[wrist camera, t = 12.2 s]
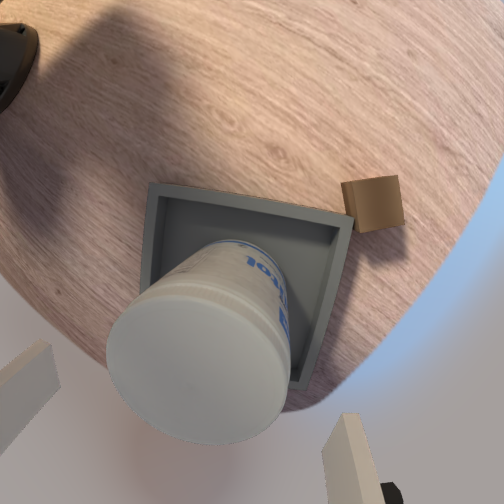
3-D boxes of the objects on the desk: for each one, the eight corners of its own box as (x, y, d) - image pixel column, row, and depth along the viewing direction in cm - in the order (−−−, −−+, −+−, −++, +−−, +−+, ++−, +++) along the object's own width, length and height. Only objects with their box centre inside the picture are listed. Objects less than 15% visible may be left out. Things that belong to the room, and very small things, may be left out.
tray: (149, 342, 30) (139, 355, 27) (162, 182, 26) (149, 182, 23) (303, 373, 29) (306, 390, 26) (345, 214, 25) (354, 217, 22)
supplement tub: (306, 294, 26) (335, 399, 12) (231, 351, 28) (200, 466, 14) (235, 213, 25) (185, 245, 11) (163, 280, 27) (74, 360, 13)
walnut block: (348, 226, 25) (360, 233, 22) (340, 182, 25) (351, 181, 21) (387, 219, 25) (404, 224, 21) (380, 176, 24) (397, 175, 20)
